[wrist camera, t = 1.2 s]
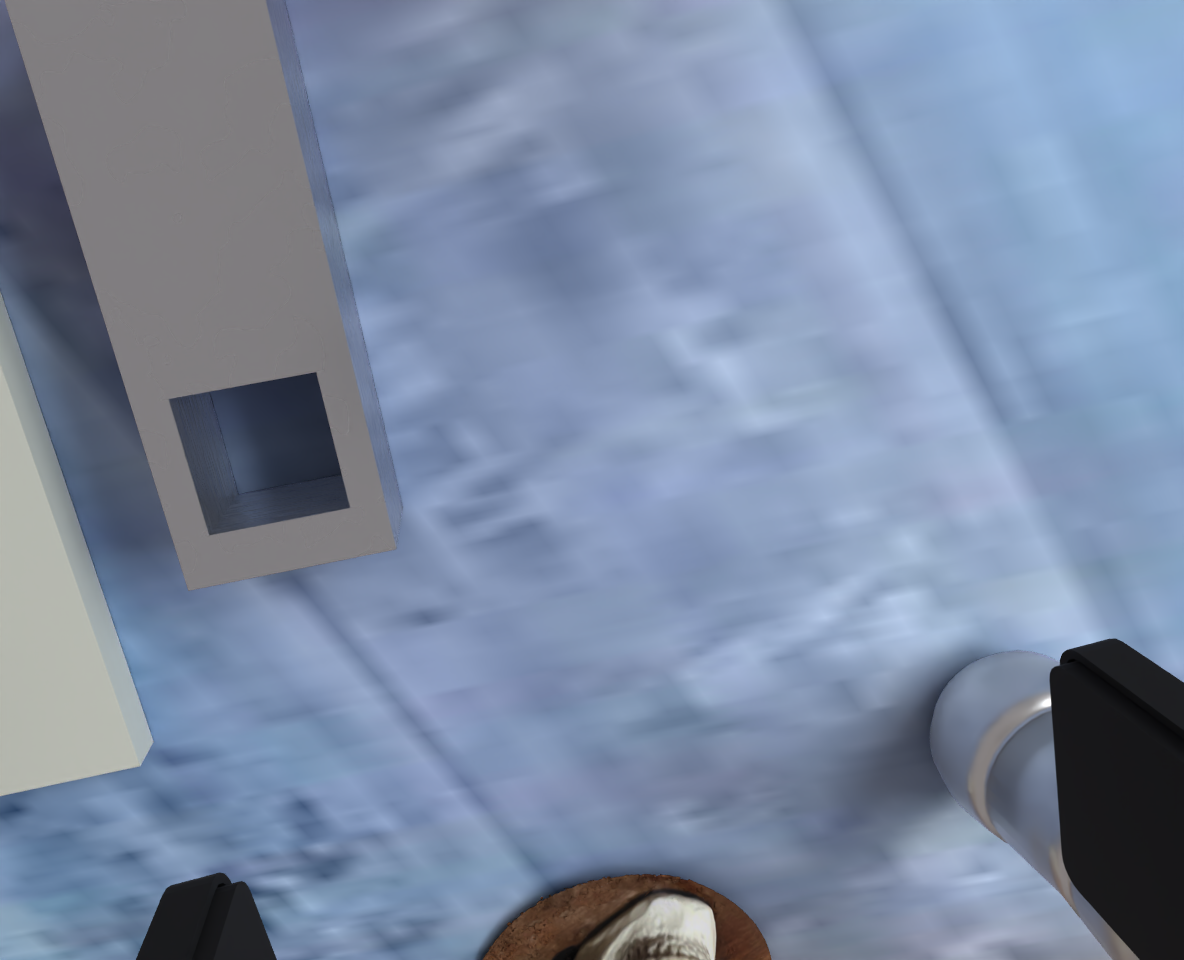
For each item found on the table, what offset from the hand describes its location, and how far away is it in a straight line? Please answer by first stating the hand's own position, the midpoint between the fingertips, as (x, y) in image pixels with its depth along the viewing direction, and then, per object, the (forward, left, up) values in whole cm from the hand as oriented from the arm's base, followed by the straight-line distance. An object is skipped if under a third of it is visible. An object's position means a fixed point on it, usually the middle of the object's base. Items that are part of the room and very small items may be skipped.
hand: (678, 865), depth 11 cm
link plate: (-6, -8, -22) cm, 24 cm away
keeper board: (+1, -22, -22) cm, 31 cm away
